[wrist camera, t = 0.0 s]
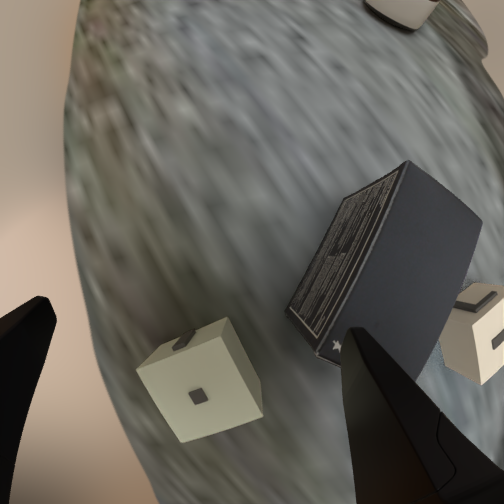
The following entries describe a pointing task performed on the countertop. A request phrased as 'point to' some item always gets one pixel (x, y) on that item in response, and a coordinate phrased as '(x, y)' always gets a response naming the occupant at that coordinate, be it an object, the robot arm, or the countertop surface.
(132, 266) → the countertop surface
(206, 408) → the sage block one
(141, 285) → the countertop surface
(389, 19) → the spread jar
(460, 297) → the cream block seven
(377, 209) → the small box
